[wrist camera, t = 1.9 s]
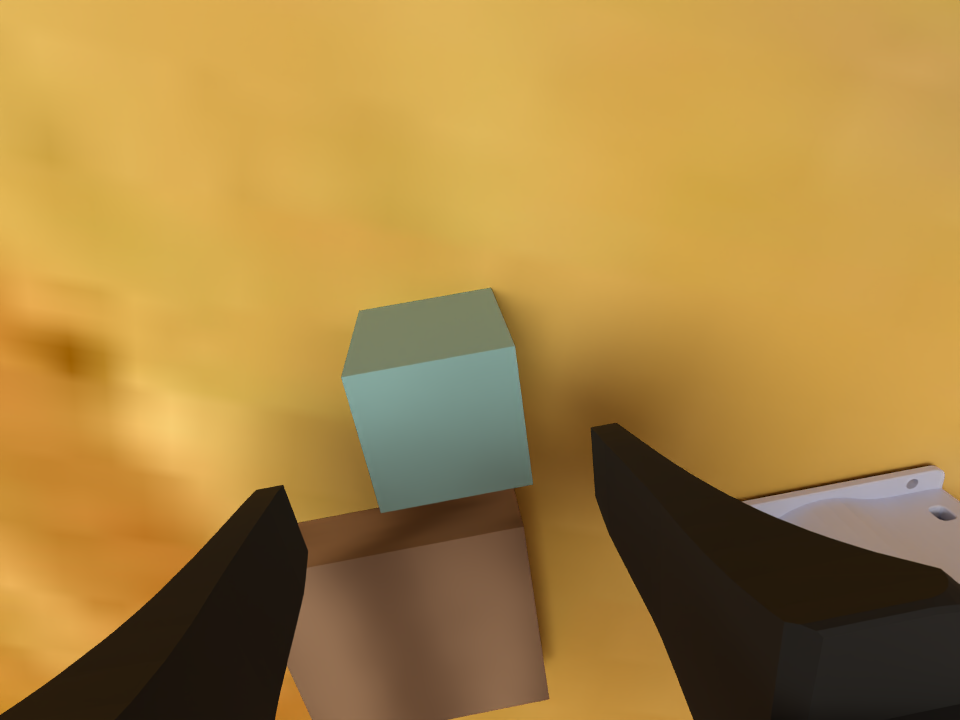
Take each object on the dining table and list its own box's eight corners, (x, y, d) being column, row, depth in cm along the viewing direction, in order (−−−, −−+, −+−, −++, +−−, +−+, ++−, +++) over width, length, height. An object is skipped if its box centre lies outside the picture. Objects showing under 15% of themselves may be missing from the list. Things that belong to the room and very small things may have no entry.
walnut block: (510, 475, 22) (523, 526, 20) (536, 639, 27) (549, 699, 24) (268, 521, 22) (247, 579, 19) (333, 679, 26) (323, 744, 24)
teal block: (490, 287, 19) (515, 345, 14) (507, 400, 21) (532, 484, 16) (359, 310, 18) (341, 377, 14) (388, 422, 20) (381, 513, 16)
